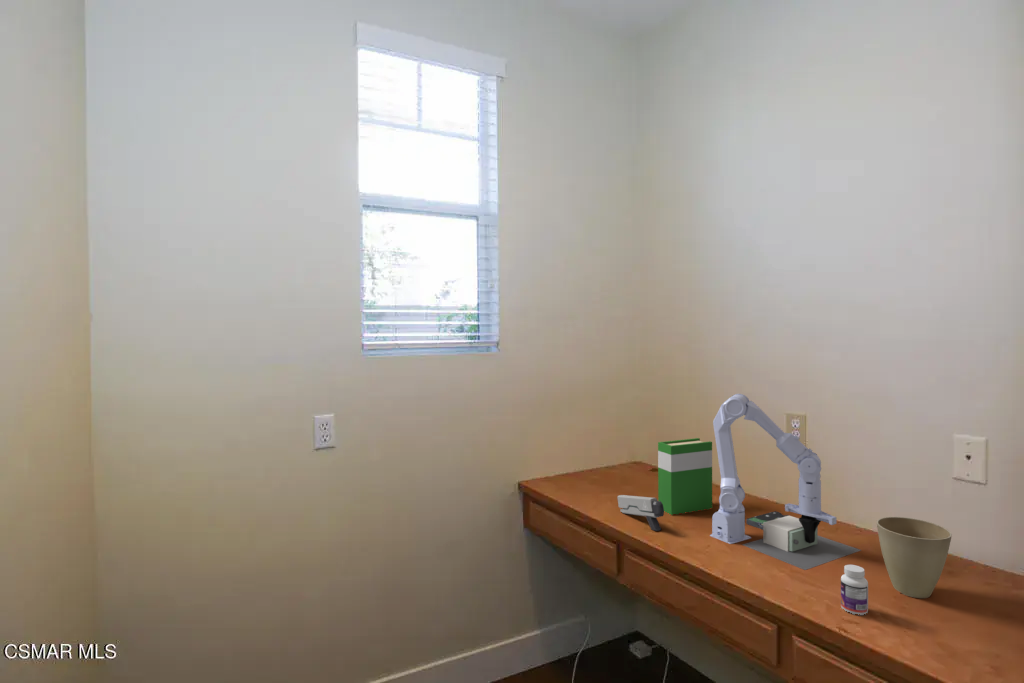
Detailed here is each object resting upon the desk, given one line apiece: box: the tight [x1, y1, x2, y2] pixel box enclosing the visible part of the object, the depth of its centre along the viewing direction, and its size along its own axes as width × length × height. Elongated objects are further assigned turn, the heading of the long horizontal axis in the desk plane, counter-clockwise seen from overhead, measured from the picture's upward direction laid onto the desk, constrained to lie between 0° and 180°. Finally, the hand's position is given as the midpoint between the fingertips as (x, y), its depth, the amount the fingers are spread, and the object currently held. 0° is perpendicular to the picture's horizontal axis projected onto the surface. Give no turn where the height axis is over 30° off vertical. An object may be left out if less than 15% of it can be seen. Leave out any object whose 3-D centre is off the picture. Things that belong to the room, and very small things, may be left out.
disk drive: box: [745, 510, 790, 531], centre depth 183 cm, size 10×3×15 cm
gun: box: [617, 494, 665, 532], centre depth 188 cm, size 2×25×10 cm, turn 21°
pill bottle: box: [840, 564, 869, 616], centre depth 129 cm, size 5×5×10 cm
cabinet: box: [762, 515, 803, 551], centre depth 168 cm, size 12×8×6 cm, turn 119°
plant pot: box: [876, 516, 953, 599], centre depth 137 cm, size 15×15×16 cm
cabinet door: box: [789, 525, 819, 552], centre depth 163 cm, size 12×2×5 cm, turn 118°
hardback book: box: [657, 437, 713, 516], centre depth 201 cm, size 18×7×24 cm, turn 111°
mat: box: [741, 535, 862, 571], centre depth 164 cm, size 26×20×1 cm
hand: (809, 542), depth 163 cm, fingers closed
